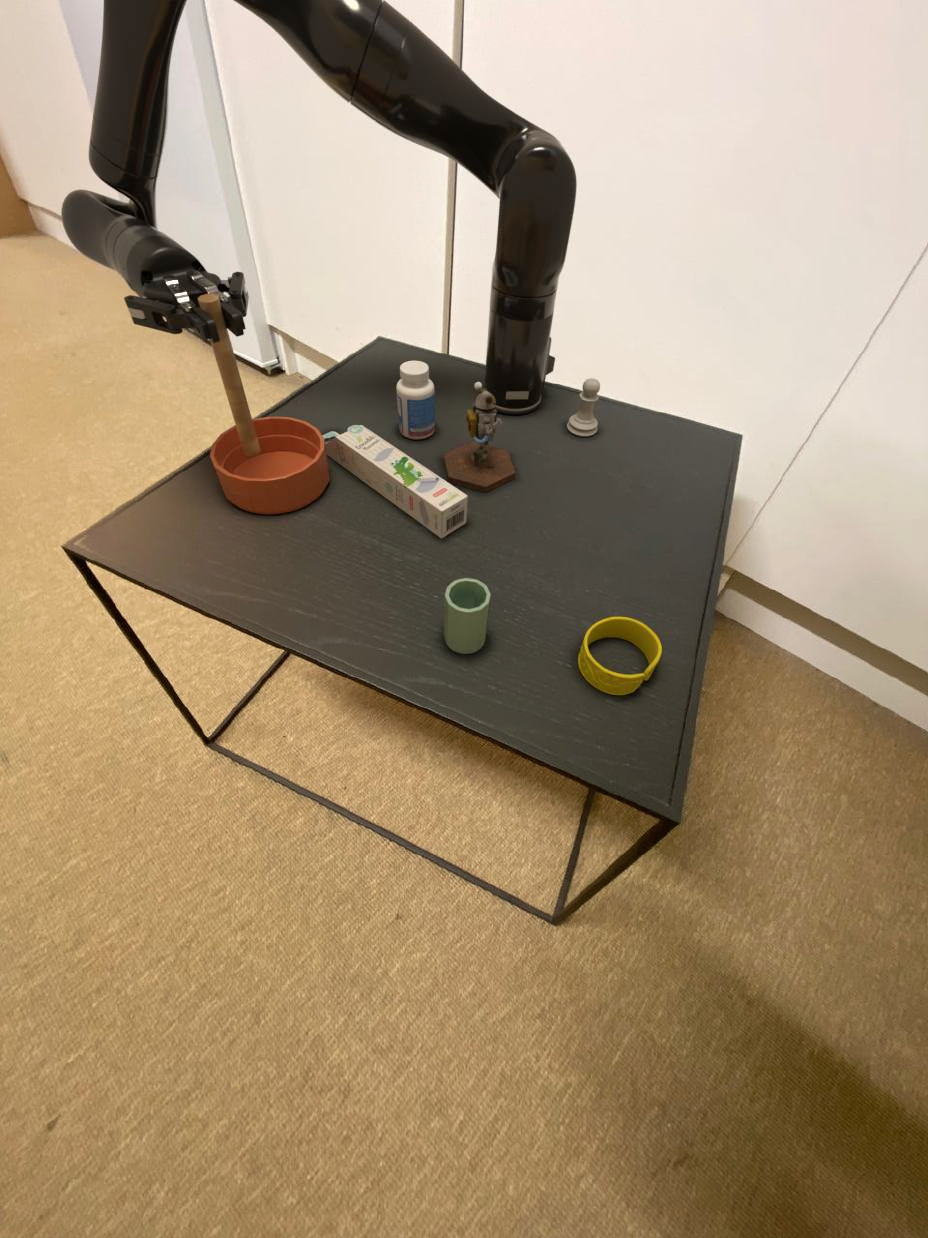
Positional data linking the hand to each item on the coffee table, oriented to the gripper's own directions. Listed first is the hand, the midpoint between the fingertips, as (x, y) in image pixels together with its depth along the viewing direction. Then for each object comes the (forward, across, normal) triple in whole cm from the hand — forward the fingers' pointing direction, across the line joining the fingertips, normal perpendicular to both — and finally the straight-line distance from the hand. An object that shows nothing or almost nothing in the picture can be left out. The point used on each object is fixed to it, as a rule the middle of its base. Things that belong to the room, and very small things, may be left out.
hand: (226, 329), depth 57 cm
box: (+5, +14, +22) cm, 26 cm away
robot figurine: (+11, +26, +22) cm, 36 cm away
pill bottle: (-2, +25, +22) cm, 33 cm away
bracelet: (+45, +16, +22) cm, 53 cm away
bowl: (-3, +2, +22) cm, 22 cm away
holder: (+33, +6, +22) cm, 40 cm away
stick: (-3, 0, +16) cm, 16 cm away
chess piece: (+12, +46, +22) cm, 52 cm away
